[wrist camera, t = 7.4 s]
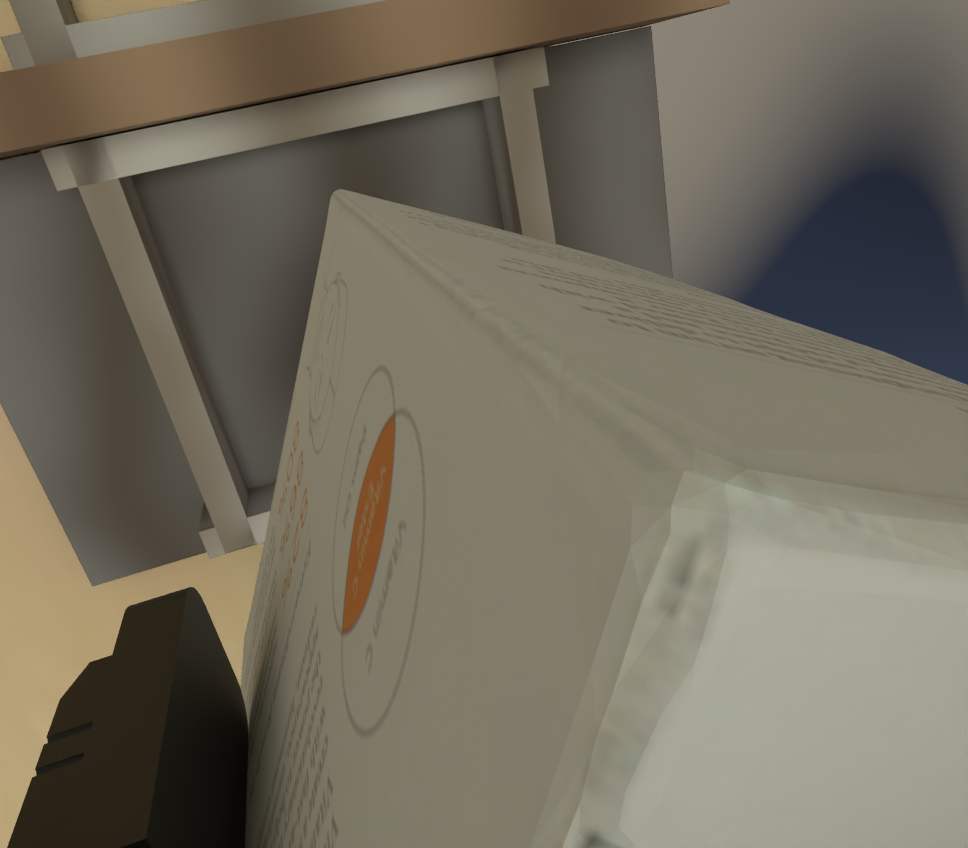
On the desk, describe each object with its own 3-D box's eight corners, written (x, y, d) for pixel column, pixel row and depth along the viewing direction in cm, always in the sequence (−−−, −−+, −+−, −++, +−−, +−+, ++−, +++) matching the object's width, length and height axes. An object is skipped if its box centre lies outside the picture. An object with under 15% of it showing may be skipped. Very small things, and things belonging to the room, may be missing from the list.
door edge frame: (583, -613, 18) (688, -858, 14) (676, 402, 29) (750, 452, 25) (-470, -563, 14) (-801, -872, 10) (95, 576, 26) (60, 672, 21)
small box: (524, 653, 15) (957, 1536, 6) (235, 636, 13) (165, 1916, 4) (656, 263, 13) (1773, 658, 3) (328, 174, 11) (755, 497, 1)
